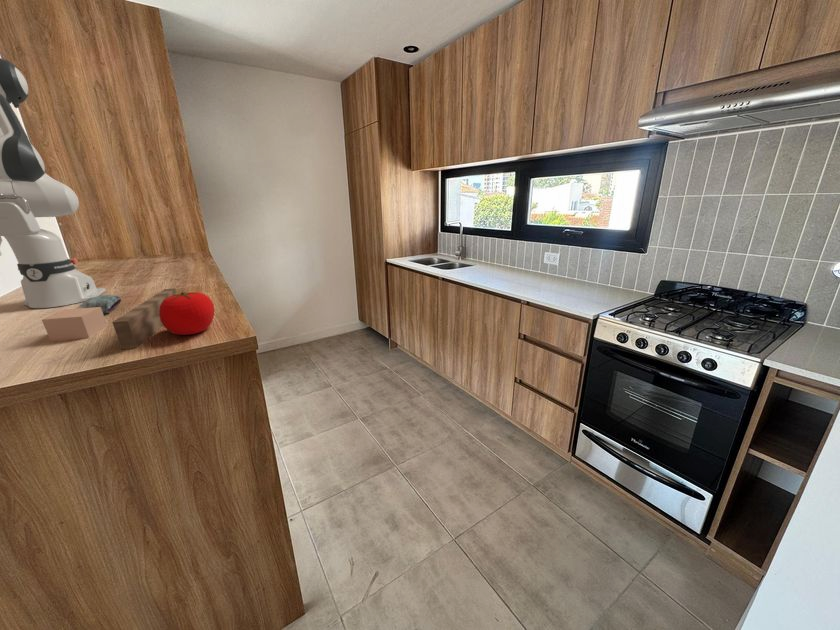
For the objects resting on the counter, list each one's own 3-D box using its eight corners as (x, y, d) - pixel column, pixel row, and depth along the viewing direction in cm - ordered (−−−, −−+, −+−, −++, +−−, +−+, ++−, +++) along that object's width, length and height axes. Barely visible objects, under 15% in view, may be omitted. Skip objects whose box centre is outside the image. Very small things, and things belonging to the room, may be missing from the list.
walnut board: (170, 310, 105) (164, 289, 103) (181, 309, 106) (175, 288, 104) (121, 349, 78) (112, 322, 76) (136, 347, 79) (127, 320, 77)
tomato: (160, 344, 81) (147, 301, 77) (171, 326, 92) (160, 288, 88) (215, 336, 86) (206, 295, 82) (220, 320, 97) (211, 283, 93)
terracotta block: (72, 330, 90) (64, 309, 88) (107, 327, 92) (100, 306, 90) (50, 341, 83) (41, 319, 81) (89, 338, 85) (81, 316, 83)
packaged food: (74, 320, 97) (69, 304, 96) (90, 308, 107) (85, 294, 106) (112, 315, 101) (107, 300, 99) (124, 305, 111) (120, 291, 109)
